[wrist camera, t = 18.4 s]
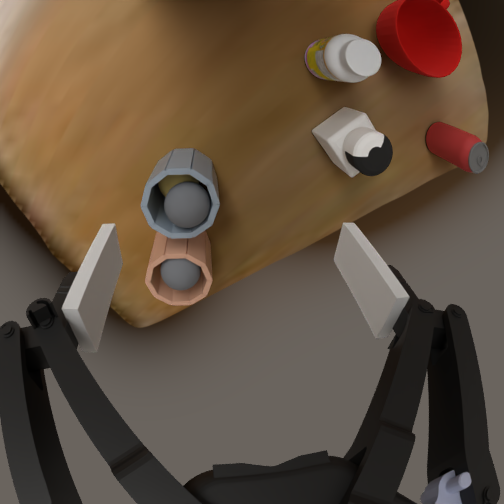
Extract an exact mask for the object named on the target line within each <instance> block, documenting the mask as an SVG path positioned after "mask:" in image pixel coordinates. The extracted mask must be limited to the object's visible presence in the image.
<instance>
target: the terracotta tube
mask: <svg viewBox="0 0 504 504" xmlns="http://www.w3.org/2000/svg"><path fill="white" fill-rule="evenodd" d="M180 258H186V259H187V260H189V261H191V262H193V263H195V264H196V265H198V266H200V267H201V274H200V277H199V280H198V281H197V283H196V284H195V285H194V286H193V287H191V288H189V289H187V290H175V289H172V288H170V287H169V286H168V285H167V284H166V283H165V282H164V281H163V279H162V276H161V270H160V269H161V263H162V262H163V261H164V260H166V259H180ZM212 281H213V279H212V260H211V243H210V240H209V238H208V235H207V233H206V230H205V231H203V232H202V233H200V234H199V235H197V236H196V237H193V238H176V239H171V237H170V238H168V237H166V236H165V235H163V234H161V233H159V232H158V231H157V233H156V237H155V241H154V244H153V248H152V252H151V256H150V261H149V265H148V269H147V274H146V279H145V283H146V285H147V286H148V288H149V290H150V291H151V293H152V294H153V296H155V298H157V299H159V300H161V301H163V302H165V303H167V304H169V305H171V304H172V305H190V304H191V305H192V304H194V303H195V302H197V301H199V300H201V299H202V298H204V297H206V295H207V294H208V291H209V289H210V286H211V284H212Z"/></svg>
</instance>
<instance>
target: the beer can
mask: <svg viewBox="0 0 504 504" xmlns="http://www.w3.org/2000/svg"><path fill="white" fill-rule="evenodd" d="M426 143H427V146H428V149H429V150H430V151H431V152H432V153H433V154H435V155H437V156H439V157H441V158H443V159H445V160H447V161H448V162H450V163H452V164H454V165H456V166H457V167H459V168H461V169H463V170H465V171H467V172H473V173H476V174H478V173H480V172H482V171H483V170H484V169H485V167H486V165H487V163H488V159H489V151H488V147H487V146H486V144H485V143H483V142H482V141H481V140H480V139H479V138H478V137H476V136H475V135H472V134H470V133H468V132H465V131H463V130H460V129H458V128H455V127H453V126H450V125H448V124H445V123H442V122H436V123H434V124H432V125H431V126H430V128H429V129H428V132H427V135H426Z"/></svg>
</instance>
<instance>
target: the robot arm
mask: <svg viewBox="0 0 504 504" xmlns="http://www.w3.org/2000/svg"><path fill="white" fill-rule="evenodd" d="M334 262H335V264H336V266H337V267H338V269H339V271H340V273H341V274H342V276H343V278H344V280H345V282H346V284H347V285H348V287H349V289H350V291H351V292H352V294H353V296H354V298H355V300H356V302H357V304H358V305H359V307H360V309H361V311H362V313H363V315H364V317H365V319H366V320H367V323H368V325H369V326H370V328H371V331H372V332H373V334H374V336H375V338H376V339H379V338H385V337H388V336H389V335H390V333H391V331H392V329H393V330H394V332H395V333H396V335H395V337H394V339H393V340H392V342H391V343H390V346H389V347H388V349H390V351H389V354H388V357H387V360H386V363H385V366H384V369H383V372H382V375H381V377H380V380H379V383H378V386H377V388H376V391H375V393H374V396H373V398H372V401H371V404H370V406H369V408H368V411H367V413H366V416H365V418H364V420H363V423H362V425H361V427H360V429H359V432H358V434H357V436H356V438H355V440H354V442H353V444H352V446H351V448H350V449H349V451H348V452H347V453H346V455H345V456H344V458H340V457H335V456H328V453H327V450H326V451H321V452H317V453H312V454H307V455H301V456H298V457H296V458H294V459H291V460H289V461H286V462H284V463H282V464H279V465H277V466H271V467H270V466H260V465H252V464H245V463H236V464H222V465H221V464H219V465H213V470H210V471H206V472H204V473H201V474H199V475H197V476H195V477H194V478H192V479H191V480H189V481H188V482H187V483H186V484H185V485H184V486H182V485H181V484H180V483H179V482H178V481H177V480H176V479H175V478H174V477H173V476H172V475H171V474H170V473H169V472H168V471H167V470H166V469H165V468H164V466H163V465H162V464H161V463H160V462H159V461H158V460H157V459H156V458H155V457H154V456H153V455H152V453H151V452H150V451H149V450H148V449H147V448H146V447H145V446H144V445H143V444H142V442H141V441H140V440H139V439H138V438H137V436H136V435H135V434H134V433H133V431H132V430H131V429H130V428H129V426H128V425H127V424H126V423H125V421H124V420H123V419H122V417H121V416H120V415H119V413H118V412H117V411H116V410H115V408H114V407H113V406H112V404H111V403H110V401H109V400H108V398H107V397H106V396H105V394H104V393H103V391H102V390H101V388H100V387H99V385H98V384H97V382H96V381H95V379H94V378H93V376H92V375H91V373H90V371H89V370H88V368H87V367H86V365H85V363H84V362H83V360H82V358H81V357H80V355H79V353H78V352H77V346H78V344H79V346H80V348H81V350H82V351H83V352H94V353H97V351H98V346H99V343H100V338H101V335H102V331H103V327H104V323H105V320H106V316H107V313H108V309H109V306H110V302H111V299H112V296H113V292H114V289H115V286H116V283H117V280H118V277H119V274H120V271H121V268H122V265H123V262H122V258H121V253H120V248H119V242H118V237H117V231H116V226H115V224H103V225H102V226H101V228H100V230H99V232H98V234H97V236H96V237H95V239H94V241H93V243H92V245H91V247H90V249H89V251H88V253H87V255H86V257H85V259H84V261H83V263H82V265H81V267H80V269H79V271H78V272H70V273H69V274H67V275H66V277H64V279H63V280H62V282H61V284H60V287H59V289H58V290H57V293H56V295H55V297H54V299H53V301H52V302H51V301H50V300H49V299H47V298H40V299H37V300H35V301H34V302H32V303H31V304H30V305H29V307H28V308H27V311H26V315H27V318H28V320H29V321H30V323H31V325H32V326H29V327H24V328H20V326H19V324H17V322H14V321H9V322H6V323H5V324H3V325H2V326H1V327H0V418H1V425H2V432H3V438H4V443H5V449H6V454H7V459H8V463H9V467H10V471H11V475H12V479H13V483H14V486H15V490H16V493H17V496H18V500H19V503H20V504H82V501H81V499H80V497H79V494H78V492H77V489H76V487H75V485H74V482H73V479H72V477H71V474H70V471H69V468H68V466H67V463H66V460H65V457H64V454H63V450H62V447H61V444H60V441H59V437H58V434H57V430H56V426H55V422H54V419H53V414H52V410H51V406H50V401H49V397H48V392H47V386H46V381H45V375H44V369H46V368H51V370H52V372H53V374H54V376H55V378H56V380H57V382H58V384H59V386H60V388H61V390H62V392H63V394H64V396H65V397H66V399H67V401H68V403H69V405H70V407H71V408H72V410H73V412H74V413H75V415H76V417H77V418H78V420H79V422H80V423H81V425H82V426H83V428H84V430H85V431H86V433H87V435H88V436H89V438H90V439H91V441H92V442H93V444H94V445H95V447H96V448H97V449H98V451H99V452H100V454H101V455H102V457H103V458H104V459H105V461H106V462H107V463H108V465H109V466H110V468H111V471H112V473H113V475H114V476H115V477H116V479H117V480H118V481H119V483H120V484H121V485H122V486H123V488H124V489H125V490H126V491H127V492H128V494H129V495H130V496H131V497H132V498H133V499H134V501H135V502H136V503H137V504H417V503H415V502H413V501H411V500H410V499H408V498H407V497H405V496H403V495H402V494H400V493H398V492H397V490H398V487H399V485H400V482H401V480H402V477H403V475H404V472H405V469H406V466H407V463H408V460H409V458H410V455H411V452H412V449H413V445H414V442H415V434H413V433H412V428H413V425H414V421H415V418H416V414H417V410H418V407H419V403H420V399H421V395H422V390H423V385H424V381H425V377H426V372H428V392H429V442H428V461H427V478H428V485H427V487H426V488H425V491H424V492H423V493H422V495H421V498H420V500H421V502H422V503H423V504H497V502H498V500H499V496H500V487H499V483H498V479H497V475H496V471H495V468H494V464H493V461H492V458H491V455H490V451H489V442H488V429H487V418H486V408H485V400H484V393H483V387H482V381H481V375H480V370H479V365H478V360H477V355H476V351H475V346H474V342H473V338H472V334H471V330H470V326H469V322H468V319H467V315H466V313H465V311H464V310H463V309H462V308H461V307H459V306H457V305H454V304H450V305H448V307H447V308H446V310H445V311H440V310H435V309H434V307H433V306H432V305H431V304H430V303H429V302H427V301H426V300H422V299H418V298H417V296H416V295H415V293H414V292H413V291H412V289H411V288H410V286H409V285H408V284H407V283H406V281H405V279H404V278H403V277H402V275H401V274H400V273H399V271H398V270H396V269H395V268H394V267H393V266H391V265H386V263H385V262H384V261H383V259H382V258H381V256H380V255H379V254H378V253H377V251H376V250H375V249H374V247H373V246H372V245H371V244H370V242H369V241H368V240H367V238H366V237H365V236H364V234H363V233H362V232H361V231H360V229H359V228H358V227H357V226H356V224H355V223H343V225H342V229H341V233H340V237H339V241H338V245H337V249H336V252H335V256H334Z"/></svg>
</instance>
